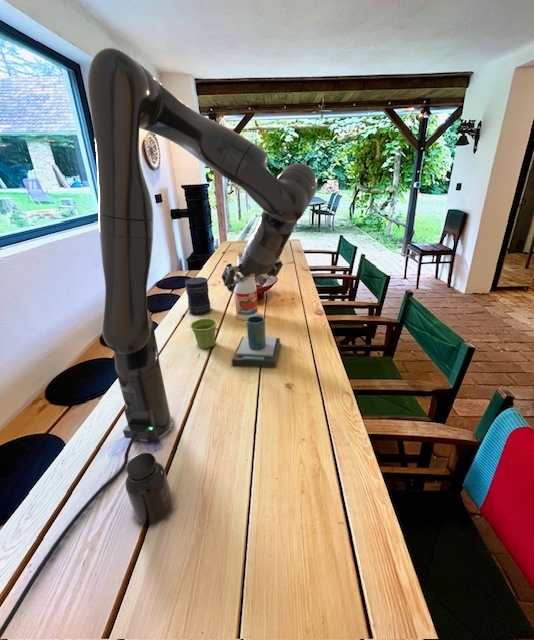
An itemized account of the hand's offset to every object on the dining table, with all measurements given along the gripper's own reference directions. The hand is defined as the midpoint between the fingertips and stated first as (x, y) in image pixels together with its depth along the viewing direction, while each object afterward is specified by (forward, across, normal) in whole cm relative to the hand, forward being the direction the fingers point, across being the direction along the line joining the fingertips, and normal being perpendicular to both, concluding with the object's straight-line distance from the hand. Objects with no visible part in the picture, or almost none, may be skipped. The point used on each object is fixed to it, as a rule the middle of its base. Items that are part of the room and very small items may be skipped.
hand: (245, 285), depth 83 cm
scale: (+32, -9, +12) cm, 35 cm away
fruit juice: (+54, -20, -11) cm, 59 cm away
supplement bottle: (+3, +33, +41) cm, 53 cm away
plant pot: (+43, +4, 0) cm, 43 cm away
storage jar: (+66, -3, -23) cm, 70 cm away
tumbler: (+30, -9, +9) cm, 32 cm away
